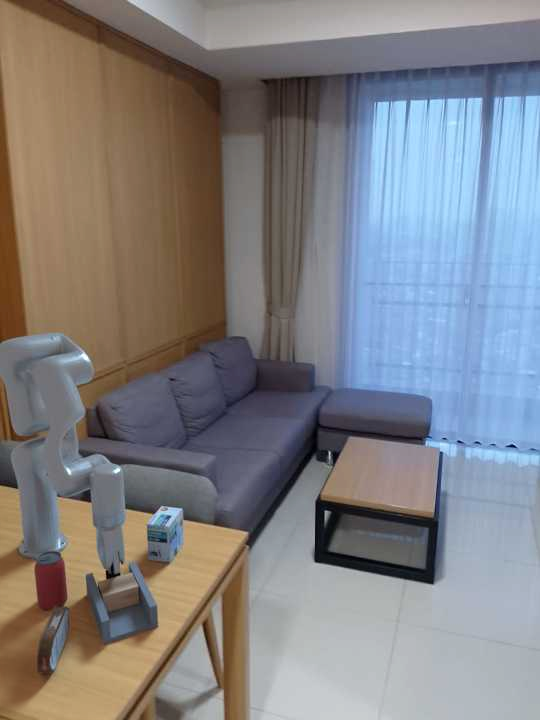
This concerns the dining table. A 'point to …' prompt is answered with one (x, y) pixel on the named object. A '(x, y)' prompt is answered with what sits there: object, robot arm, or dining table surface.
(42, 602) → the beer can
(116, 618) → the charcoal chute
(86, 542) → the dining table surface
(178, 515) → the light bulb box
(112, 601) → the brown cardboard box
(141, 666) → the dining table surface
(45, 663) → the tin
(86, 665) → the dining table surface
